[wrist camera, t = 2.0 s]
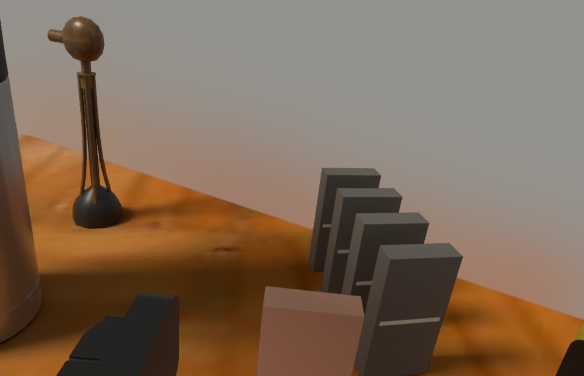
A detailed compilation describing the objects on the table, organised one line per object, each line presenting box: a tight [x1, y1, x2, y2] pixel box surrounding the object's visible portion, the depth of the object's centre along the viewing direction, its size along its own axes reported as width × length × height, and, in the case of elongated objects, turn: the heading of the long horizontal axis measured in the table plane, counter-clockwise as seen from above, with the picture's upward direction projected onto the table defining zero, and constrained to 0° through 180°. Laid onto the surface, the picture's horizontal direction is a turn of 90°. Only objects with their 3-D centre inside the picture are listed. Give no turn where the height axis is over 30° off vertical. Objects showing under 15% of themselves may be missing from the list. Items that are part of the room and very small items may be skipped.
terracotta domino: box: [256, 286, 364, 376], centre depth 25 cm, size 2×5×10 cm, turn 88°
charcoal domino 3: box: [341, 213, 429, 316], centre depth 34 cm, size 2×5×10 cm, turn 103°
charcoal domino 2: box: [321, 188, 402, 294], centre depth 38 cm, size 2×5×10 cm, turn 103°
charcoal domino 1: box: [309, 168, 381, 272], centre depth 42 cm, size 2×5×10 cm, turn 103°
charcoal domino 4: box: [354, 243, 463, 376], centre depth 30 cm, size 2×5×10 cm, turn 102°
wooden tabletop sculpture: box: [48, 16, 123, 228], centre depth 43 cm, size 6×5×20 cm
